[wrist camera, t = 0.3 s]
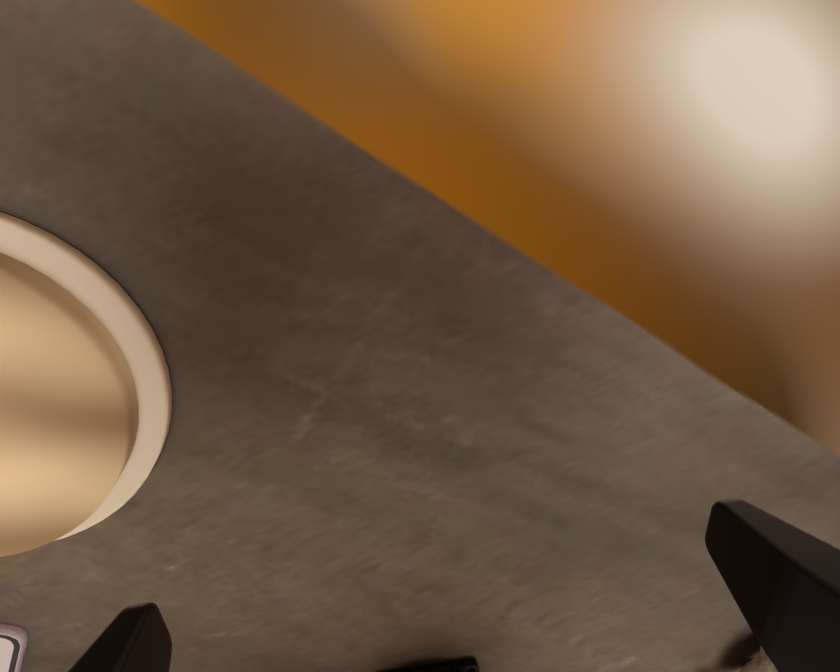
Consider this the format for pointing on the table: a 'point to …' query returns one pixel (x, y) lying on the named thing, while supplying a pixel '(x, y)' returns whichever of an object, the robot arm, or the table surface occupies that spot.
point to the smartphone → (12, 647)
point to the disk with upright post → (56, 410)
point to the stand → (125, 331)
